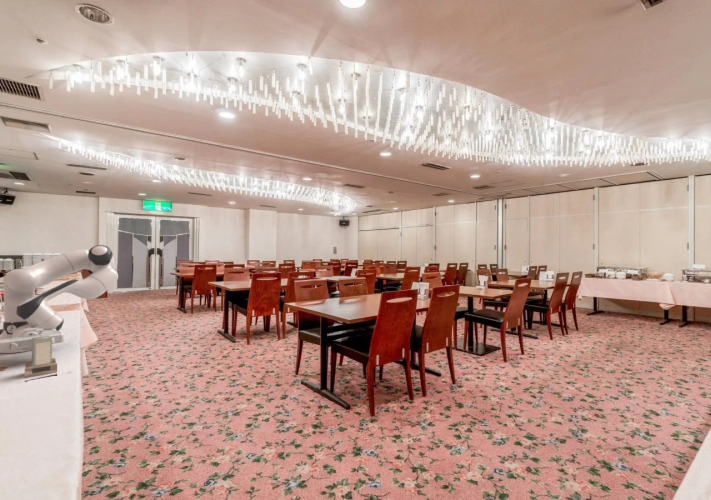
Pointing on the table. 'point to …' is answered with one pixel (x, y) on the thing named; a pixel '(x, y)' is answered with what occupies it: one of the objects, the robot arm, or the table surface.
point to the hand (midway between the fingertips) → (34, 344)
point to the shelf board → (40, 370)
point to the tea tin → (41, 351)
